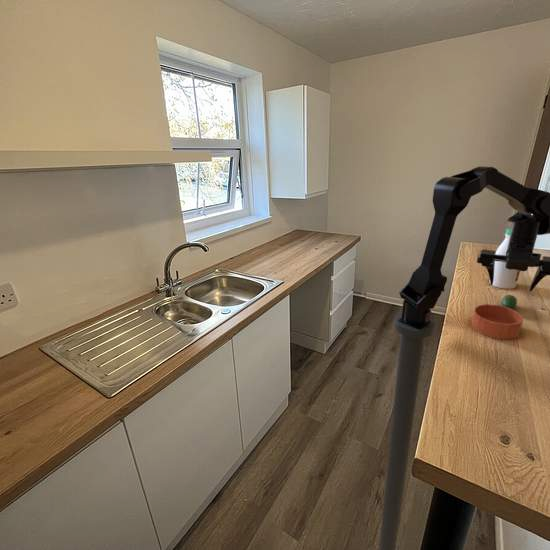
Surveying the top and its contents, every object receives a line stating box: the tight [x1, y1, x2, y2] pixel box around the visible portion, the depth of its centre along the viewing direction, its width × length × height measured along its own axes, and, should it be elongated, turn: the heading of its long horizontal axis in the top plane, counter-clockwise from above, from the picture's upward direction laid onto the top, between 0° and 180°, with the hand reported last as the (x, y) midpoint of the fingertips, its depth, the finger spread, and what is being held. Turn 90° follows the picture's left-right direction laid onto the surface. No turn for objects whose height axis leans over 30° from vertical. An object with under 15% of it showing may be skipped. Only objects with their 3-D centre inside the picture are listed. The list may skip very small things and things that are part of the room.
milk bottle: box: [489, 227, 521, 290], centre depth 102 cm, size 8×8×20 cm
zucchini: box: [500, 294, 518, 311], centre depth 91 cm, size 8×4×4 cm, turn 142°
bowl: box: [471, 303, 524, 340], centre depth 82 cm, size 11×11×4 cm
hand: (510, 287), depth 89 cm, fingers open, 9 cm apart
